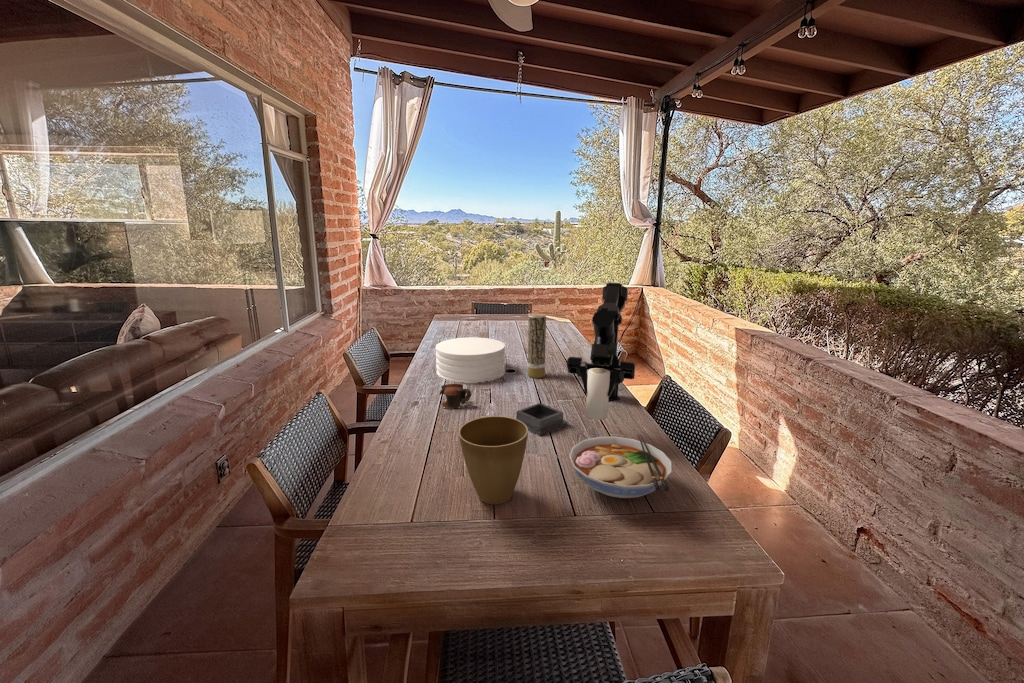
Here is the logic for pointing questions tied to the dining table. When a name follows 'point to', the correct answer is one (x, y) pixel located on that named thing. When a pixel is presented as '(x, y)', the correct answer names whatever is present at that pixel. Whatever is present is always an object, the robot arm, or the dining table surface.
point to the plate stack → (470, 359)
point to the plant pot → (494, 455)
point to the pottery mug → (454, 395)
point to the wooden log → (536, 345)
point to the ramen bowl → (621, 466)
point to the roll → (597, 393)
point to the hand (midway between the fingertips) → (597, 394)
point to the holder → (541, 418)
